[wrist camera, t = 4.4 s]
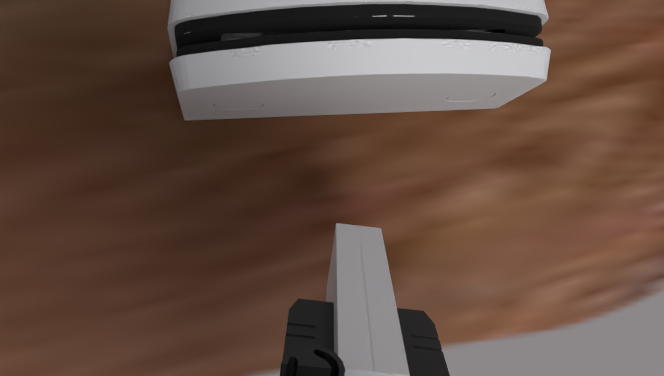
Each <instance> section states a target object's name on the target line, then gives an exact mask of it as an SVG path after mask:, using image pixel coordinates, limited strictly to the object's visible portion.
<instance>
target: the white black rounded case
mask: <svg viewBox="0 0 664 376" xmlns="http://www.w3.org/2000/svg"><path fill="white" fill-rule="evenodd" d="M547 20H548V13H547V10H546V6H545V3H544V0H171V4H170V11H169V18H168V26H167V29H168V34H169V39H170V44H171V48H172V53H173V58H174V59H172V60H171V61H170V62H169V65H170V69H171V73H172V77H173V81H174V85H175V89H176V93H177V96H178V100H179V104H180V107H181V111H182V115H183V118H184V121H185V120H211V119H236V118H261V117H287V116H312V115H337V114H363V113H388V112H414V111H439V110H464V109H490V108H498V107H500V106H502V105H504V104H505V103H507V102H509V101H511V100H513V99H514V98H516V97H518V96H520V95H522V94H523V93H525V92H527V91H529V90H531V89H533V88H534V87H536V86H538V85H540V84H542V83H543V82H545V81H546V79H547V72H548V66H549V59H550V52H551V50H550V49H548V48H547V47H543V41H542V39H539V38H534V37H536V36H537V35H538V34H539V33H541V31H542V25H543V24H544V23H545V22H547Z"/></svg>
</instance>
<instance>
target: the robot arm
mask: <svg viewBox="0 0 664 376" xmlns="http://www.w3.org/2000/svg"><path fill="white" fill-rule="evenodd" d="M441 349H442V348H441V345H440V341H439V340H438V335H437V331H436V328H435V324H434V323H433V322H432V320H431V319H430V318H429V317H428V316H427V315H426V313H425V312H424V311H419V310H409V309H400V308H397V307H396V302H395V297H394V292H393V287H392V282H391V277H390V271H389V266H388V261H387V256H386V251H385V246H384V241H383V236H382V231H381V228H374V227H366V226H357V225H348V224H340V223H336V228H335V234H334V241H333V248H332V255H331V261H330V268H329V275H328V282H327V288H326V302H324V301H314V300H305V299H298V300H297V301H296V302H295V303H294V304H293V306H292V307H291V308H290V309H289V315H288V323H287V331H286V338H285V346H284V354H283V361H282V363H281V371H280V376H449V372H448V368H447V365H446V362H445V359H444V355H443V352H442V351H441Z"/></svg>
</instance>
